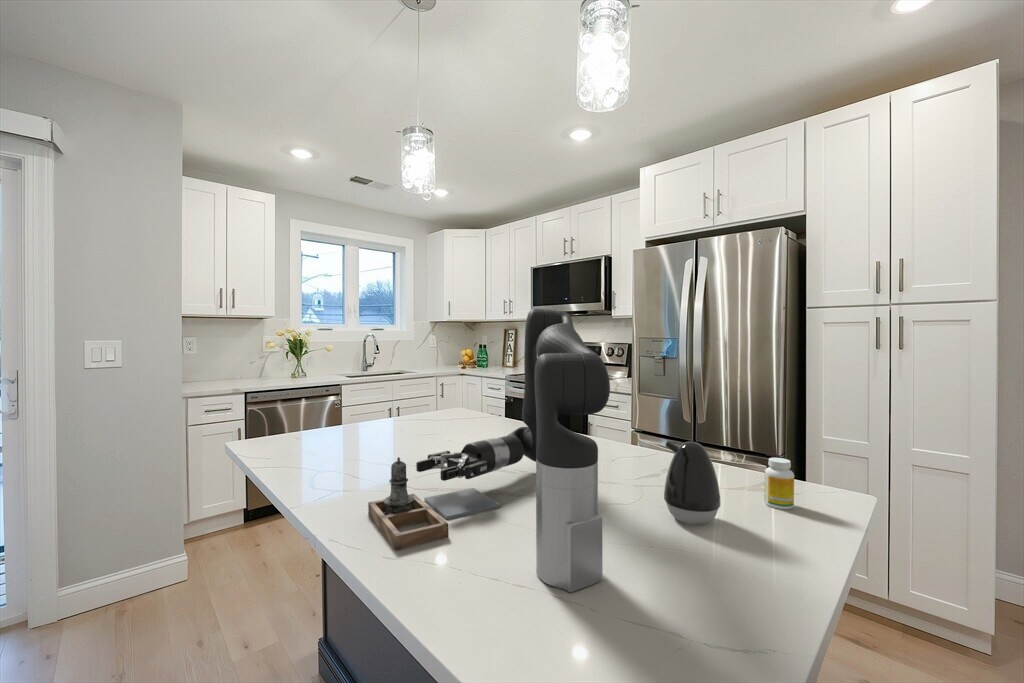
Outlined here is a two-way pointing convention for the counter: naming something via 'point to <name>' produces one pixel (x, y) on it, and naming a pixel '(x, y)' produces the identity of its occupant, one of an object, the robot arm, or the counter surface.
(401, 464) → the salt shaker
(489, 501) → the slate tile
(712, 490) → the pump dispenser
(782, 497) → the supplement bottle
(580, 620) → the counter surface
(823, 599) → the counter surface
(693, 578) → the counter surface
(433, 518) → the spice caddy
